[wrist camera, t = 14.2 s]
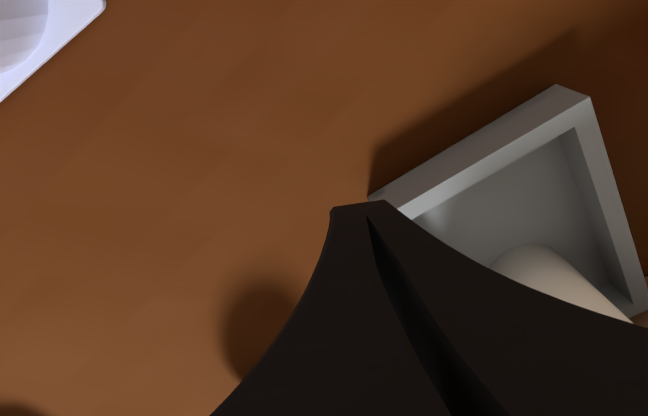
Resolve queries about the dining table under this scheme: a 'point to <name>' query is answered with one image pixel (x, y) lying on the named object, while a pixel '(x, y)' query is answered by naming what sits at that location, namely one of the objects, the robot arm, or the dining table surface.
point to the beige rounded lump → (553, 277)
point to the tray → (530, 194)
